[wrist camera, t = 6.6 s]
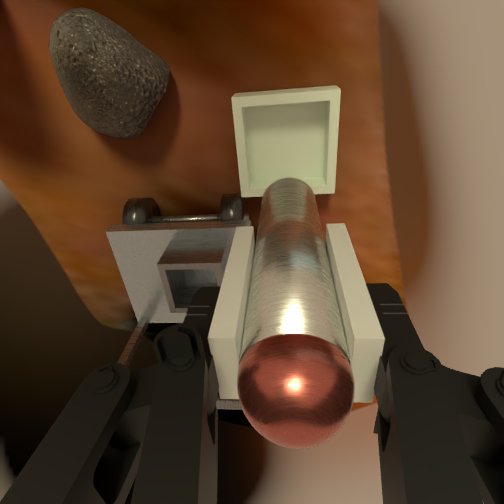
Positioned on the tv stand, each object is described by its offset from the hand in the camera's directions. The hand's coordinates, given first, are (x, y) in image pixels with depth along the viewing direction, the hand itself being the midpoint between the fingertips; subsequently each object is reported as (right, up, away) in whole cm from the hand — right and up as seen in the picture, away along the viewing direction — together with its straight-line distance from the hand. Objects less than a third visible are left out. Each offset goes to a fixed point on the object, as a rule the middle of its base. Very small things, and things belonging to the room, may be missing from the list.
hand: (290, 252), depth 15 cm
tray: (+2, +11, +17) cm, 20 cm away
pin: (0, +3, +5) cm, 6 cm away
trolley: (-8, +1, +25) cm, 26 cm away
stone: (-14, +16, +16) cm, 27 cm away
